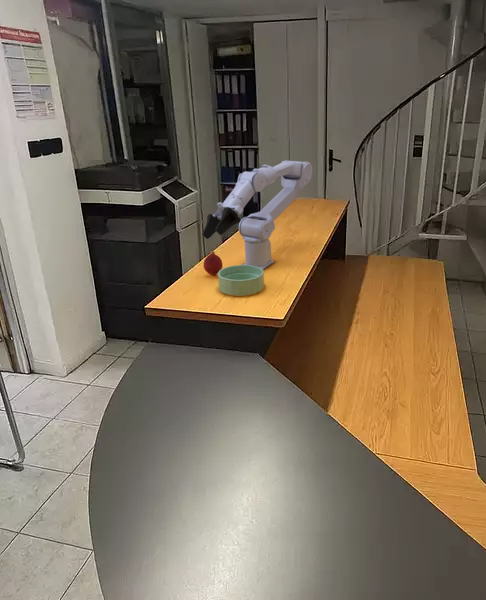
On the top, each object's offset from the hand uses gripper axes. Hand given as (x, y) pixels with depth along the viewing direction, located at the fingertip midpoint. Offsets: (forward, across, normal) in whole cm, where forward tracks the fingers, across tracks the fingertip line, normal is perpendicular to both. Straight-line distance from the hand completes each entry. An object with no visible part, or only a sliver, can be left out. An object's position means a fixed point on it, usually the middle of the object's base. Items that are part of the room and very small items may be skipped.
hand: (211, 234), depth 139 cm
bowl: (+7, +2, +16) cm, 18 cm away
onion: (+4, -11, +12) cm, 17 cm away
